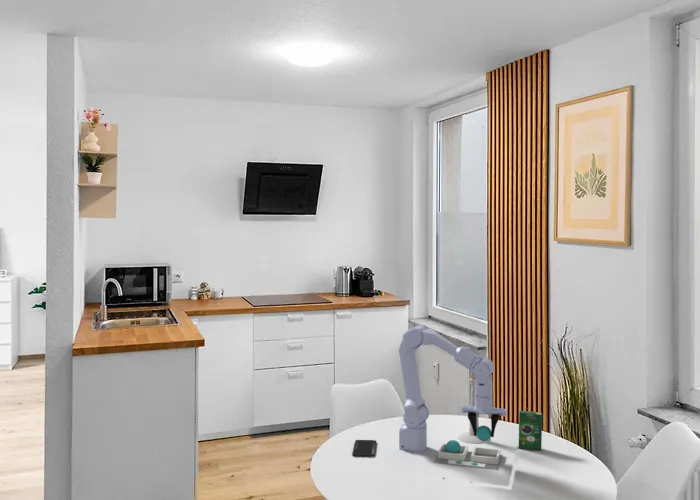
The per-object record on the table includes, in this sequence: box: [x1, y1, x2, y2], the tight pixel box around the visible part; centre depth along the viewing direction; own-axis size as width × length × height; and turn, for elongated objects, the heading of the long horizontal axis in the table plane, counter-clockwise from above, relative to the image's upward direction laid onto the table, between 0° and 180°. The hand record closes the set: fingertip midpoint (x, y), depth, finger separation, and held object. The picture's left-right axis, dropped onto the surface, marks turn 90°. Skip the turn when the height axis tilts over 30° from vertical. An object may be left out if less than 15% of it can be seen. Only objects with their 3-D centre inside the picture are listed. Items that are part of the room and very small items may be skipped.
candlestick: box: [457, 370, 492, 445], centre depth 230 cm, size 13×13×30 cm
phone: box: [351, 439, 377, 458], centre depth 223 cm, size 8×1×15 cm
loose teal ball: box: [476, 425, 492, 441], centre depth 209 cm, size 5×5×5 cm
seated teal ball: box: [445, 439, 461, 454], centre depth 214 cm, size 5×5×5 cm
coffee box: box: [518, 410, 543, 452], centre depth 222 cm, size 8×3×13 cm, turn 71°
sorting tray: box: [433, 443, 503, 471], centre depth 210 cm, size 21×14×3 cm, turn 71°
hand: (483, 435), depth 209 cm, fingers closed on loose teal ball, 5 cm apart
